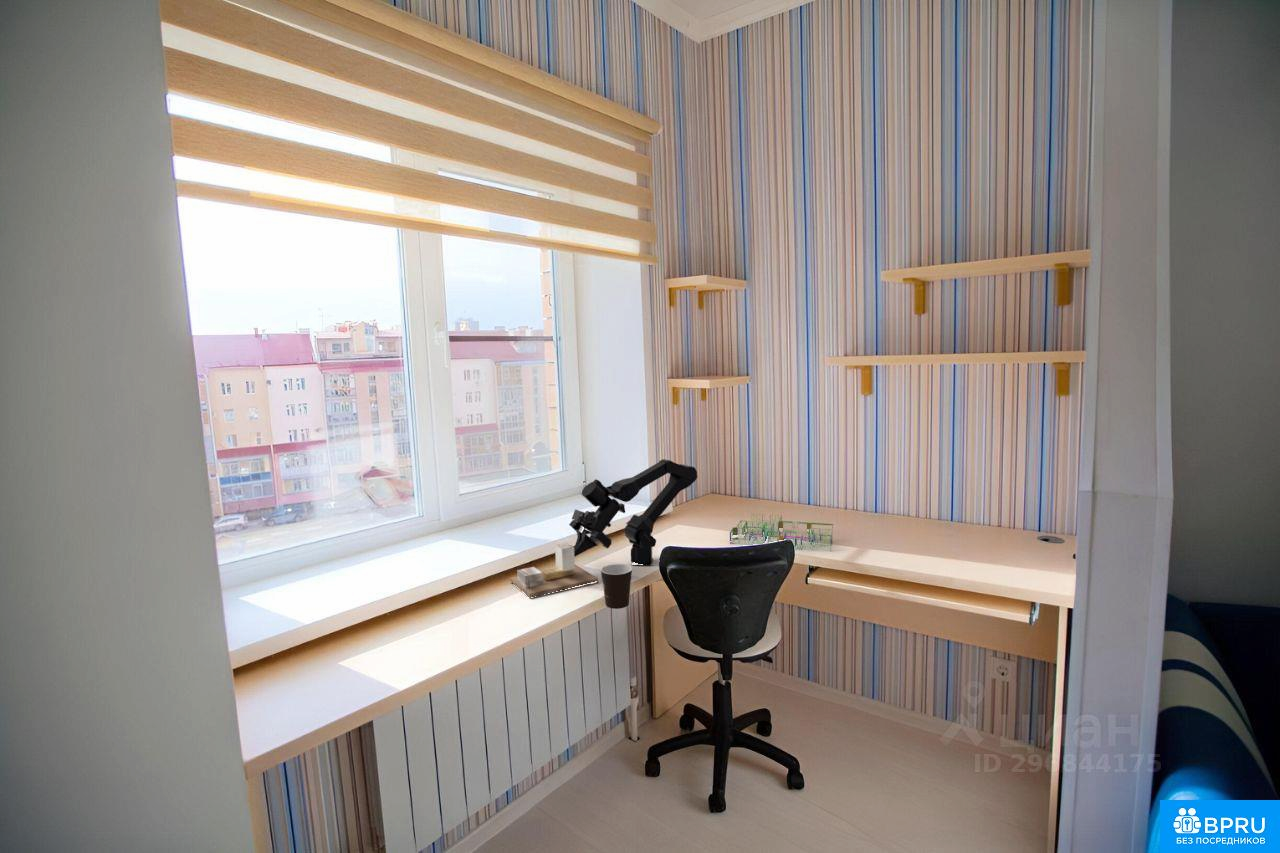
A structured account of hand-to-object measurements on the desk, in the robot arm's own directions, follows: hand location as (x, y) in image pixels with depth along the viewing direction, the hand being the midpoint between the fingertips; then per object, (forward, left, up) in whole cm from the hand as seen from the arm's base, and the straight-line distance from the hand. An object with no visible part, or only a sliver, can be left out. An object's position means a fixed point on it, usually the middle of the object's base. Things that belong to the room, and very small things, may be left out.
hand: (573, 555), depth 196 cm
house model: (-68, -50, -8) cm, 84 cm away
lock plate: (+6, +5, -7) cm, 11 cm away
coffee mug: (-17, +18, -7) cm, 26 cm away
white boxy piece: (+4, +3, -5) cm, 8 cm away
